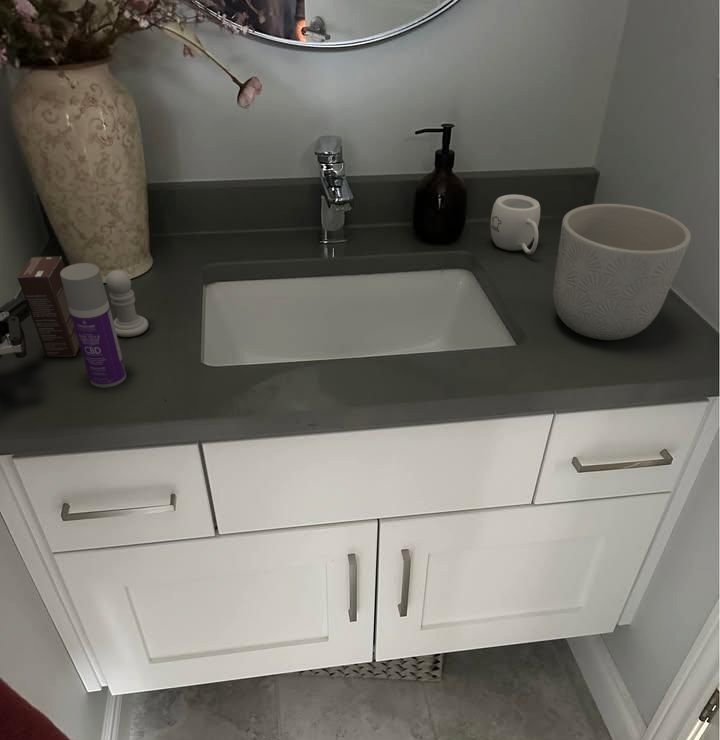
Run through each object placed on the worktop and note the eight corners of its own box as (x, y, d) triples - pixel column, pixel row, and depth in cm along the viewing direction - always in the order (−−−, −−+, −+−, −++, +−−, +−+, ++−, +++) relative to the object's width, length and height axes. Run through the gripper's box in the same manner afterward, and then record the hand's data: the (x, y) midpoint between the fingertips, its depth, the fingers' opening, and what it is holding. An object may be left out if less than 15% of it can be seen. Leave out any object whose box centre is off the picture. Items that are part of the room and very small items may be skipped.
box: (55, 335, 100) (30, 255, 92) (87, 335, 100) (64, 255, 92) (42, 358, 95) (15, 275, 87) (75, 358, 95) (51, 276, 87)
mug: (478, 238, 128) (484, 195, 123) (518, 233, 130) (526, 190, 125) (511, 266, 120) (519, 220, 114) (553, 259, 122) (563, 214, 117)
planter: (565, 358, 98) (592, 255, 87) (526, 301, 110) (545, 205, 100) (677, 351, 100) (716, 249, 89) (626, 296, 112) (655, 200, 102)
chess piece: (121, 342, 99) (107, 283, 93) (105, 327, 102) (90, 269, 96) (155, 330, 101) (143, 272, 95) (138, 316, 104) (126, 259, 98)
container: (92, 390, 90) (61, 283, 80) (87, 372, 93) (56, 266, 83) (129, 383, 91) (103, 276, 81) (123, 365, 94) (97, 260, 84)
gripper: (-34, 357, 73) (60, 285, 86) (-138, 338, 76) (-32, 271, 88) (-10, 414, 79) (75, 338, 91) (-108, 394, 81) (-12, 323, 93)
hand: (22, 305), depth 90 cm, fingers closed
